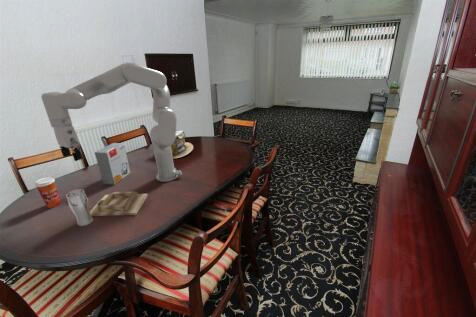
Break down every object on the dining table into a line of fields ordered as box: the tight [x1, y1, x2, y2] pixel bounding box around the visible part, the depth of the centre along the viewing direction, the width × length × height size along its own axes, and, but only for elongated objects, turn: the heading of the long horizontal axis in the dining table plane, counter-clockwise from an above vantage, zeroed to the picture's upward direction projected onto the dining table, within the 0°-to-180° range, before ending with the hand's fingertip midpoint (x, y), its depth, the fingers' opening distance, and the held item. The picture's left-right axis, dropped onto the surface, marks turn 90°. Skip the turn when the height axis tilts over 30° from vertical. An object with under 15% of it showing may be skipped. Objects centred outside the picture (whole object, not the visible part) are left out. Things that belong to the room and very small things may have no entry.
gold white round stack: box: [171, 129, 194, 160], centre depth 174 cm, size 25×25×17 cm
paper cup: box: [34, 176, 62, 209], centre depth 115 cm, size 8×8×14 cm
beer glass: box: [65, 188, 94, 227], centre depth 102 cm, size 7×7×15 cm
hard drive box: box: [94, 142, 131, 186], centre depth 138 cm, size 16×8×20 cm, turn 168°
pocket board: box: [90, 191, 148, 217], centre depth 116 cm, size 22×16×4 cm
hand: (72, 157), depth 109 cm, fingers open, 9 cm apart
